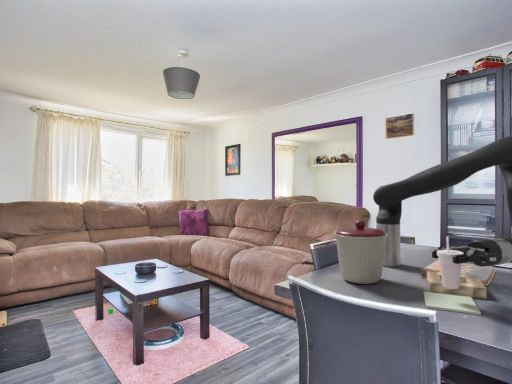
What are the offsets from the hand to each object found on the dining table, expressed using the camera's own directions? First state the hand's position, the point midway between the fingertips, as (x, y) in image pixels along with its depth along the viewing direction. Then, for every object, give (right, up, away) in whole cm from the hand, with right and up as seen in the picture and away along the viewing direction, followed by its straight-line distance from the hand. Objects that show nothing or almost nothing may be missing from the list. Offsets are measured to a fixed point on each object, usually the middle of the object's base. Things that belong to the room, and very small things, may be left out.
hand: (443, 256), depth 84 cm
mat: (+2, -13, +1) cm, 13 cm away
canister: (-15, -13, +23) cm, 31 cm away
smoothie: (+3, -9, +1) cm, 9 cm away
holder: (+11, -13, +13) cm, 22 cm away
